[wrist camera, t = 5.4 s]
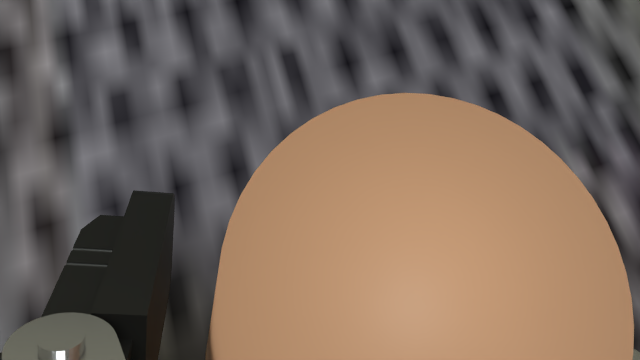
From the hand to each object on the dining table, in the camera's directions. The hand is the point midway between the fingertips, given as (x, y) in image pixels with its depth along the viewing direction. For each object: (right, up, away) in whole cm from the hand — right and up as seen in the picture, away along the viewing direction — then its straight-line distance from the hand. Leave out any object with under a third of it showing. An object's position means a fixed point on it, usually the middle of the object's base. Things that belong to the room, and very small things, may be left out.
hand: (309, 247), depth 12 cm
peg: (-1, -3, +4) cm, 6 cm away
